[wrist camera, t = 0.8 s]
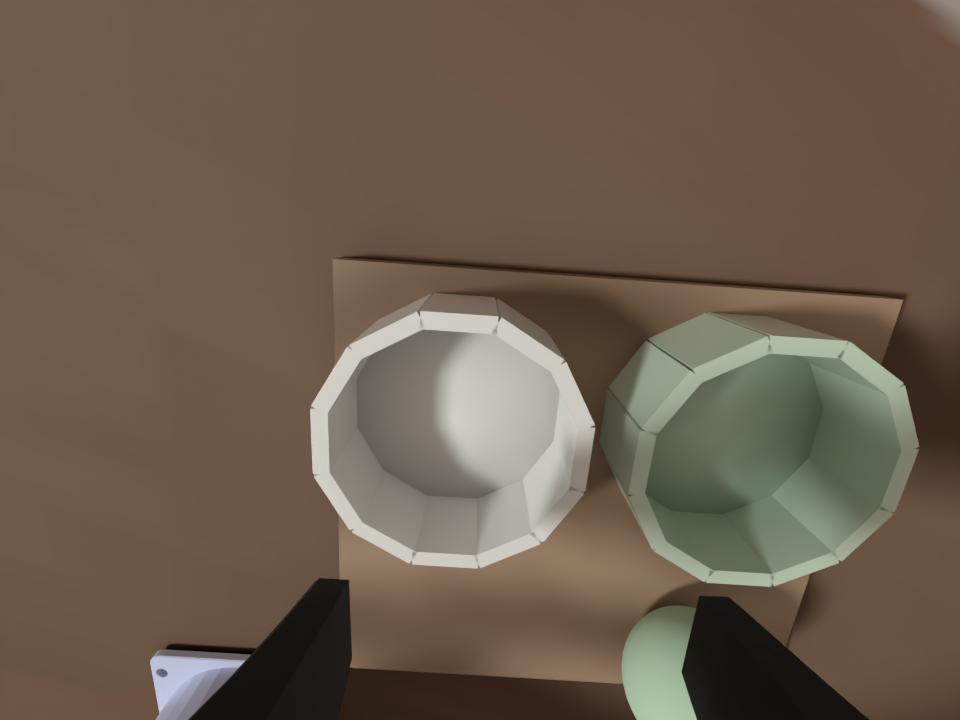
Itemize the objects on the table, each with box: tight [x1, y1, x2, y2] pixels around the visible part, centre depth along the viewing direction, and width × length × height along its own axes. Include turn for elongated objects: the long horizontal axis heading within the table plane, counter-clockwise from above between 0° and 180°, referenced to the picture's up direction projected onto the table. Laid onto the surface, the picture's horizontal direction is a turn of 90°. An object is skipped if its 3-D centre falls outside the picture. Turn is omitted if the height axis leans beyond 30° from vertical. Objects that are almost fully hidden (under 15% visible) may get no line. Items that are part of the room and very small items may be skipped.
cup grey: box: [310, 293, 595, 569], centre depth 15 cm, size 8×8×4 cm
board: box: [333, 257, 903, 684], centre depth 18 cm, size 18×20×1 cm
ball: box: [622, 605, 697, 720], centre depth 17 cm, size 5×5×5 cm
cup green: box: [599, 312, 919, 587], centre depth 15 cm, size 8×8×4 cm
